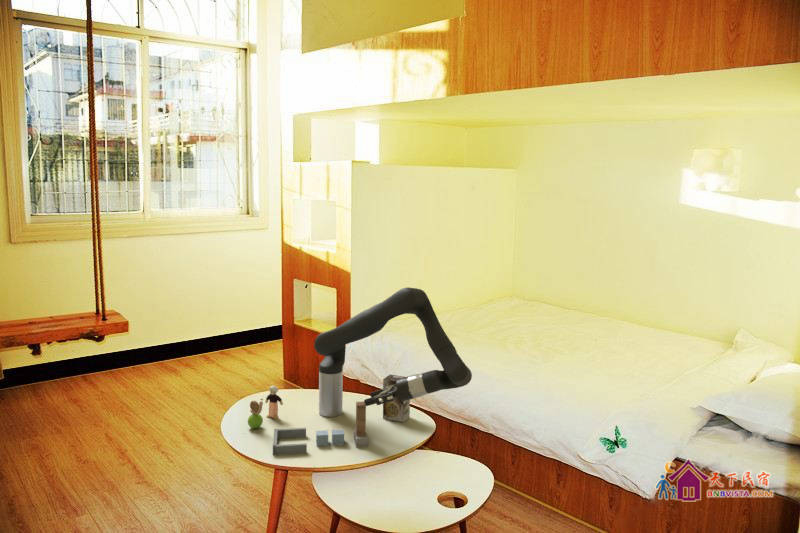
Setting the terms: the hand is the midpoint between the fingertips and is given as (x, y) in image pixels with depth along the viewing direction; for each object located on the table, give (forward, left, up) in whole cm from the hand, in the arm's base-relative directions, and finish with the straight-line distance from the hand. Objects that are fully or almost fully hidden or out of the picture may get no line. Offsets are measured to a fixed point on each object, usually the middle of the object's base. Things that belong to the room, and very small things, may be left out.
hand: (368, 399), depth 209 cm
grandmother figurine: (-33, -33, -18) cm, 50 cm away
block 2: (-7, -10, -18) cm, 21 cm away
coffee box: (-27, +14, -18) cm, 35 cm away
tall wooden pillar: (-7, -2, -18) cm, 19 cm away
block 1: (-7, -15, -18) cm, 24 cm away
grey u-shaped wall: (-7, -26, -18) cm, 32 cm away
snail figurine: (-23, -39, -18) cm, 48 cm away
